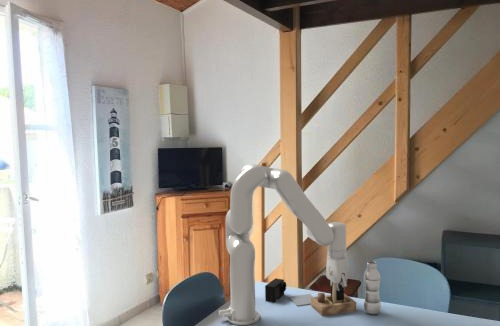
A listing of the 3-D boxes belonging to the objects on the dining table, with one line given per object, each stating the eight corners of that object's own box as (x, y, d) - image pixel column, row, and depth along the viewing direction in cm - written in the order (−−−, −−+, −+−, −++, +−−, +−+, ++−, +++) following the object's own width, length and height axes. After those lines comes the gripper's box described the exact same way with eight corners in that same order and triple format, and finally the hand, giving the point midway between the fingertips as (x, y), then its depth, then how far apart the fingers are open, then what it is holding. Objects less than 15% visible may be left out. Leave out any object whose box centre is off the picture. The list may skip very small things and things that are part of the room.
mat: (297, 306, 166) (297, 305, 166) (288, 297, 176) (288, 296, 176) (319, 303, 169) (319, 302, 169) (309, 294, 178) (309, 293, 178)
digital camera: (276, 303, 170) (276, 287, 169) (265, 301, 172) (265, 285, 172) (286, 295, 179) (286, 279, 178) (275, 293, 181) (275, 278, 181)
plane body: (321, 316, 156) (321, 299, 156) (310, 305, 166) (310, 290, 166) (356, 310, 160) (356, 294, 160) (343, 301, 170) (343, 286, 170)
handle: (345, 310, 161) (345, 273, 160) (329, 309, 162) (328, 272, 161) (345, 305, 165) (345, 269, 165) (329, 304, 167) (329, 269, 166)
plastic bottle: (363, 315, 156) (362, 264, 155) (364, 308, 162) (364, 259, 161) (380, 317, 154) (380, 265, 153) (381, 310, 160) (380, 260, 159)
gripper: (319, 248, 170) (320, 291, 171) (338, 259, 154) (338, 306, 154) (335, 247, 172) (336, 289, 172) (355, 257, 156) (356, 304, 156)
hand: (337, 297), depth 163 cm, fingers closed on handle, 4 cm apart
